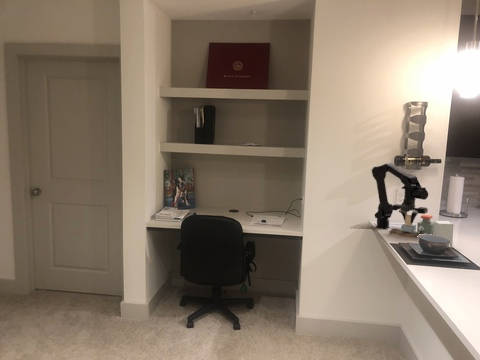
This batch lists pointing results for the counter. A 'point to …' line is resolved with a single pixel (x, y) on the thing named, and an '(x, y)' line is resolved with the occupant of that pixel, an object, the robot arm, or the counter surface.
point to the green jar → (425, 227)
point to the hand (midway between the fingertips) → (408, 223)
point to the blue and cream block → (408, 224)
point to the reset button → (426, 218)
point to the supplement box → (444, 229)
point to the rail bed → (406, 232)
